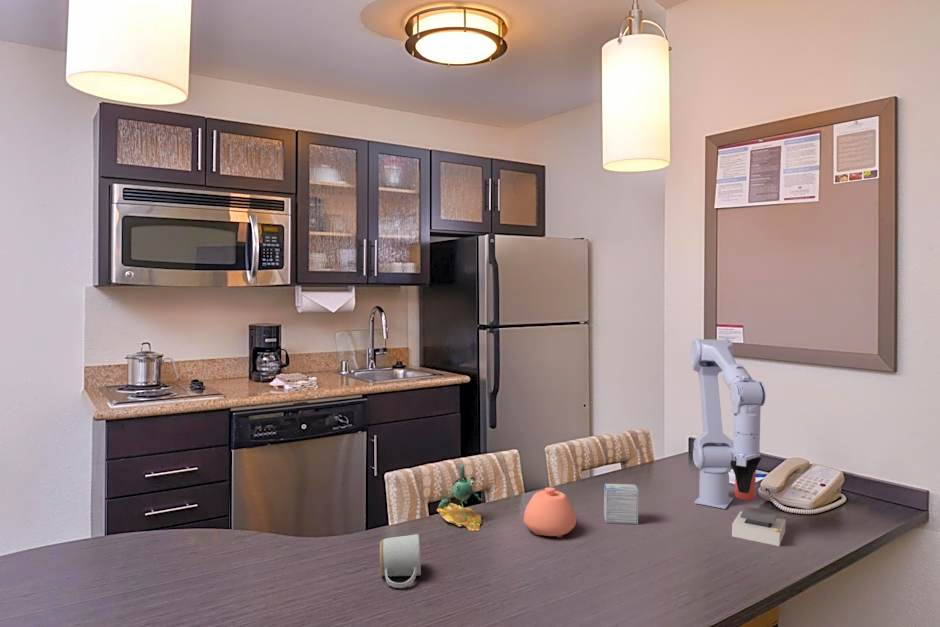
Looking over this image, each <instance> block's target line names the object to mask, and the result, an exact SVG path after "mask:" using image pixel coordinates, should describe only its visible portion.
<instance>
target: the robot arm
mask: <svg viewBox="0 0 940 627" xmlns="http://www.w3.org/2000/svg"><path fill="white" fill-rule="evenodd" d="M734 349H735V348H734V344H733V342H732V340H731V339H729V338H725V339H718V338H717V339H715V338H714V339H712V338H711V339H710V338H709V339H706V338H705V339H704V338H703V339H700V338H695V339H693V341H692V344H691V346H690V356H691V358H690V359H691V366H692V370H693V371H695V372H697V373H698V374H697V375H698V380H699V382H698V383H699V391H700V405H701V416H702V417H701V418H702V431H703V432H702V433H701V434H700V435H698V436H697V437H696V438H695V439H694V440H693V450H692V458H693V459H692V460H693V463H694V466H695V467H696V468H697V469H699V476H698V477H699V479H698V480H699V483H698V485H699V486H698V488H699V489H698V497H697V498H696V499H695V500H694V504H697V505H702V506H708V507H713V508H719V509H724V510H725V509H727V508H728V506H729V505H730V504H731V502H732V501H733V499H734V498H733V497H732V496H730V474H729V473H731V471H733V473H734V477H736V481H737V487H738V491H739V492H742V493H749V490H750V485H751V480H752V476H753V473H754V472H756V471H757V468H758V466H759V463H760V462H761V460H762V457H761V451H760V449H761V448H760V447H761V446H760V444H761V442H760V441H761V440H760V439H761V408H762V406H764V405H765V403H766V398H767V395H766V388H765V386H764V384H763V381H761V380H754V379H753V378H752V377H751V375H750V373H749V372H748V370H747V369H746V368H745V367H744V366H743V364H741V363H737V362H736V360H735V358H734V354H735V353H734V352H735V350H734ZM721 372H722V373H721ZM719 373H721V377H722V379H723V381H724V383H725V384H726V386H727V387H728V389H729V396H730V397H729V398H730V402H731V412H732V413H733V440H732V439H731V438H730V437H729V436H727V435H726V434H725V433H724V431H723V423H722V422H723V420H722V411H721V410H722V409H721V402H720V401H721V400H720V390H719V389H720V388H719V378H718V375H719Z"/></svg>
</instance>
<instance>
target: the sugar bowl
mask: <svg viewBox="0 0 940 627" xmlns="http://www.w3.org/2000/svg"><path fill="white" fill-rule="evenodd" d="M576 517H577V516H576V514H575V511H574V507H573V505H572V504H571V501H570V500H569V498H568V497H567V495H566V494H565V493H563V492H562V491H558V490H556V489H555V488H554V487H552V486H549V487H544V490H539V491H536V492H535V493H534V494H532V497H531V498H530V500H529V501H528V504H527V505H526V507H525V510H524V514H523V522H524V525H525V526H526V527H527V529H529V531H530V532H532V533H533V534H534V535H535V534H536V536H547V537H555V536H556V538H562V537H563V536H564V535H567V534H569V533H570V532H571V531H572V530H573V529H574V527H575V526H576V523H577V521H576V520H577V519H576Z"/></svg>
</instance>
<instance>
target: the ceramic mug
mask: <svg viewBox="0 0 940 627" xmlns="http://www.w3.org/2000/svg"><path fill="white" fill-rule="evenodd" d="M420 544H421V542H420V535H419V534H418V533H417V534H410V535H403V536H402V535H401V536H394V537H387V538H384V539H381V540H380V541H379V569H380V571H379V572H380V574H381V576H384V578H385V581H386V583H387V585H388V586H389V587H390V586H392V587H407V586H409V587H410V586H412V585H413V583H414V582H415V580H416V578H417V577H418V576H421V575H422V572H421V546H420ZM388 576H389V577H392V576H393V577H410V578H408V579H407V580H405V581H404V582H395V581H393V580H391V578H389V577H388ZM392 587H391V588H392ZM407 588H408V587H407Z"/></svg>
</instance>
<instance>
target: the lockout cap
mask: <svg viewBox="0 0 940 627" xmlns="http://www.w3.org/2000/svg"><path fill="white" fill-rule="evenodd" d="M756 475H757V472H756V471H755V472H754V473H753V476H752V480H751V485H750V490H749V493H742V492H739V491H738V487H737V481H736V477H735V476H734V477H735V478H734V497H736V498H737V499H739V500H740V499H741V500H745V501H746V500H748V501H749V500H750V501H753V500H755V499H756Z"/></svg>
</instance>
